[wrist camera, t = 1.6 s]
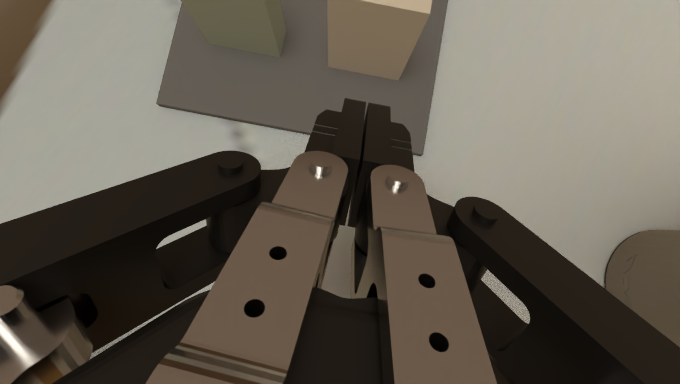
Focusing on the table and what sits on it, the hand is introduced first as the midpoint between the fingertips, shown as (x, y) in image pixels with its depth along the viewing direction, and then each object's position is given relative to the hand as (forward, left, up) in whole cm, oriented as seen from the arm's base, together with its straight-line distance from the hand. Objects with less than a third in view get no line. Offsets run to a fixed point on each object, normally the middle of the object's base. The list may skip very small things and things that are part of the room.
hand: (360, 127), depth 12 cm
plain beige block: (0, -11, -16) cm, 19 cm away
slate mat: (+5, -12, -17) cm, 21 cm away
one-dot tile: (+10, -11, -16) cm, 22 cm away
